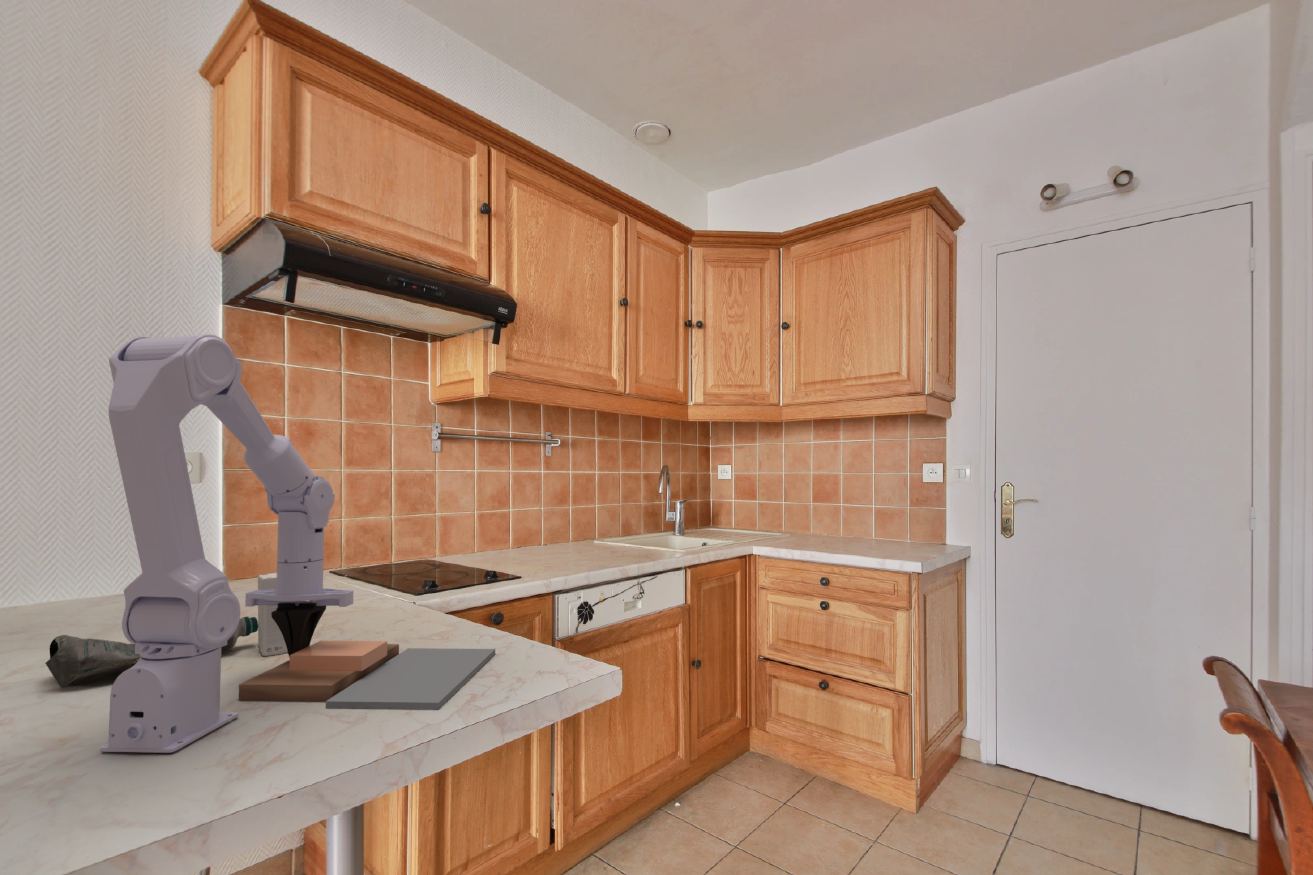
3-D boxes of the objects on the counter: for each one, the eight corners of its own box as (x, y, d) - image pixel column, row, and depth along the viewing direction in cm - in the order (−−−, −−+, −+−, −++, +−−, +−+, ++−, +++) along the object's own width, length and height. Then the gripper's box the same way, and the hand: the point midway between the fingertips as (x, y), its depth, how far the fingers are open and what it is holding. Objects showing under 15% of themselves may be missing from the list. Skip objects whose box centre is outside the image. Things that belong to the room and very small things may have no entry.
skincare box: (293, 652, 97) (295, 575, 98) (260, 657, 95) (262, 578, 95) (287, 643, 102) (289, 570, 103) (255, 648, 99) (257, 573, 100)
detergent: (46, 699, 78) (270, 651, 96) (47, 642, 79) (269, 605, 97) (40, 684, 87) (246, 642, 105) (41, 632, 87) (245, 600, 106)
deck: (331, 701, 76) (331, 685, 76) (238, 700, 77) (239, 684, 77) (398, 657, 94) (398, 644, 94) (323, 656, 95) (323, 643, 95)
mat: (438, 709, 74) (438, 702, 74) (325, 707, 74) (325, 701, 74) (495, 654, 96) (495, 648, 96) (407, 653, 96) (407, 648, 96)
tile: (361, 671, 82) (362, 655, 82) (289, 670, 82) (289, 655, 82) (387, 655, 89) (387, 641, 89) (320, 654, 89) (320, 640, 89)
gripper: (365, 556, 90) (363, 649, 90) (270, 556, 91) (267, 648, 90) (338, 563, 83) (336, 664, 83) (235, 563, 84) (232, 663, 83)
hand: (298, 657), depth 86 cm, fingers closed
